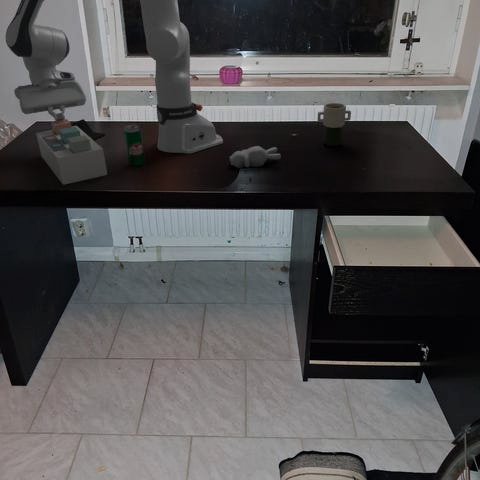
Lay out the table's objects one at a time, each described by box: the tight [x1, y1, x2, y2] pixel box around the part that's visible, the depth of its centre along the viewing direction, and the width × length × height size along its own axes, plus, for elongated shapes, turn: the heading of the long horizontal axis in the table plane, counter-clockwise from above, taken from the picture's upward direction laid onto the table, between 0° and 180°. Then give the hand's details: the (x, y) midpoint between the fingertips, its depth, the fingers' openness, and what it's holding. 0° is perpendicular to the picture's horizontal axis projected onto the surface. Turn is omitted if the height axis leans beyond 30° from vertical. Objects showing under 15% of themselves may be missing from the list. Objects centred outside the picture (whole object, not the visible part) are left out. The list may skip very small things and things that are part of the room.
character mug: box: [316, 102, 352, 147], centre depth 162 cm, size 11×7×13 cm, turn 94°
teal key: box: [59, 127, 81, 144], centre depth 151 cm, size 5×5×4 cm
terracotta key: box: [50, 118, 72, 136], centre depth 158 cm, size 5×5×4 cm
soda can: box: [123, 124, 146, 168], centre depth 151 cm, size 5×5×12 cm
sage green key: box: [67, 135, 91, 154], centre depth 143 cm, size 5×5×4 cm
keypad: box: [35, 126, 108, 185], centre depth 152 cm, size 13×28×8 cm, turn 31°
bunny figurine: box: [229, 145, 282, 169], centre depth 150 cm, size 10×5×15 cm
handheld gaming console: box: [71, 119, 106, 142], centre depth 176 cm, size 12×7×10 cm
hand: (60, 119), depth 157 cm, fingers closed
